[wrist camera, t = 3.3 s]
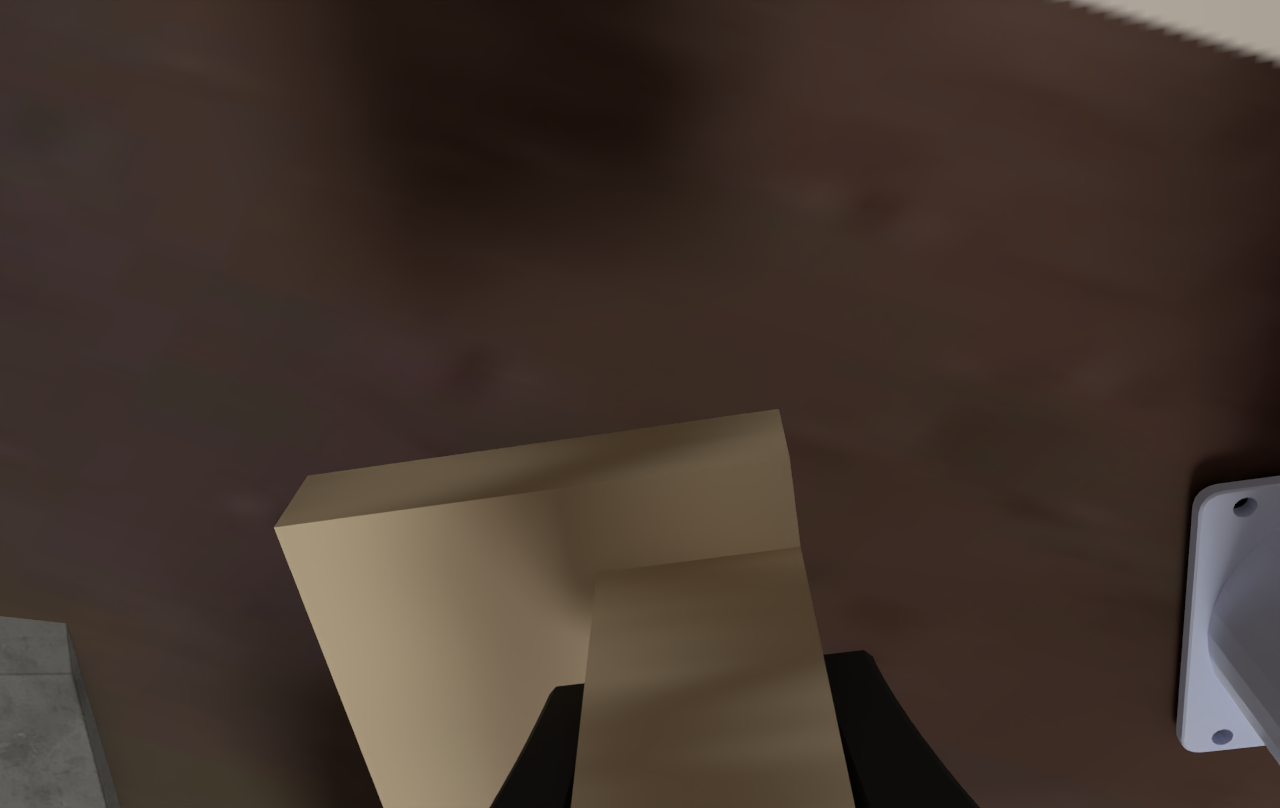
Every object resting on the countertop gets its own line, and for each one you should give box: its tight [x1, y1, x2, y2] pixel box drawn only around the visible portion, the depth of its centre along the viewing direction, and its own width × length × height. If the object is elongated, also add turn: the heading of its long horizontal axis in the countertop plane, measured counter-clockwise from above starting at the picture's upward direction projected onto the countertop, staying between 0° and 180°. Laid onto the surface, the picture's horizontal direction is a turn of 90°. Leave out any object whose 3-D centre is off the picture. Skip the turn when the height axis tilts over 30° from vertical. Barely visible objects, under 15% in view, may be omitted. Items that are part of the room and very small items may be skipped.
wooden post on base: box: [274, 409, 855, 808], centre depth 13 cm, size 8×6×8 cm
